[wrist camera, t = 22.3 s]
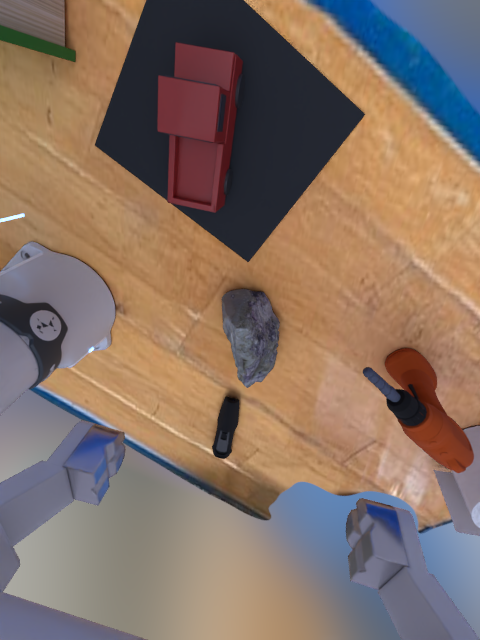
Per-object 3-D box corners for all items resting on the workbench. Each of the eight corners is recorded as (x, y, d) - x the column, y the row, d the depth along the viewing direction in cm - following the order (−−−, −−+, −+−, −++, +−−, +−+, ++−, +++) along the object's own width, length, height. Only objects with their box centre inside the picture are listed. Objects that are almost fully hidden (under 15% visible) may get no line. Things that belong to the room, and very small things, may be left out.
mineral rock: (265, 373, 49) (255, 424, 40) (202, 345, 48) (179, 390, 40) (305, 309, 42) (304, 354, 33) (232, 275, 41) (212, 312, 33)
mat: (248, 261, 40) (248, 262, 39) (96, 145, 36) (94, 145, 36) (364, 114, 30) (365, 114, 30) (172, -66, 26) (170, -69, 26)
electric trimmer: (246, 393, 52) (242, 407, 49) (231, 451, 60) (228, 465, 57) (224, 387, 52) (219, 400, 49) (212, 445, 60) (208, 460, 57)
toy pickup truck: (229, 204, 36) (210, 220, 29) (181, 193, 37) (152, 207, 30) (248, 62, 29) (229, 41, 23) (189, 51, 30) (153, 28, 23)
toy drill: (360, 287, 37) (400, 381, 25) (439, 372, 44) (501, 479, 32) (326, 310, 40) (348, 406, 27) (407, 388, 46) (453, 493, 34)
